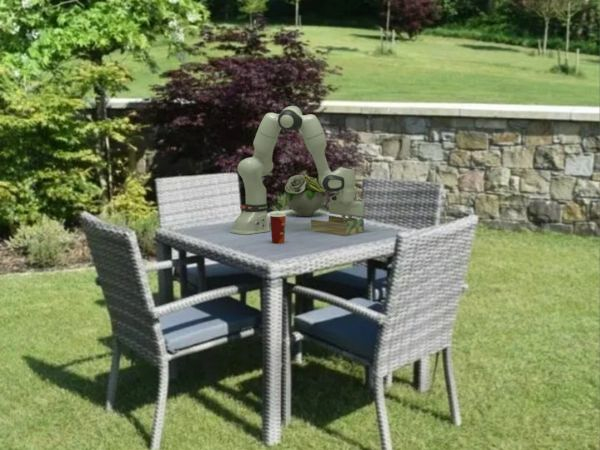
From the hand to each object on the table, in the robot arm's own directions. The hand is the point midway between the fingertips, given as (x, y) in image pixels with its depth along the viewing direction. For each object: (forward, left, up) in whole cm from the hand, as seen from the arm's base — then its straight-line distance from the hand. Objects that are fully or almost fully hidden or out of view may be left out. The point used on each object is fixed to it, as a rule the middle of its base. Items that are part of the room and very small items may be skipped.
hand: (346, 223), depth 401 cm
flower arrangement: (+22, +48, -4) cm, 53 cm away
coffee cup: (-45, +9, -4) cm, 46 cm away
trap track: (-4, +4, -4) cm, 7 cm away
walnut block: (-2, -4, -1) cm, 5 cm away
